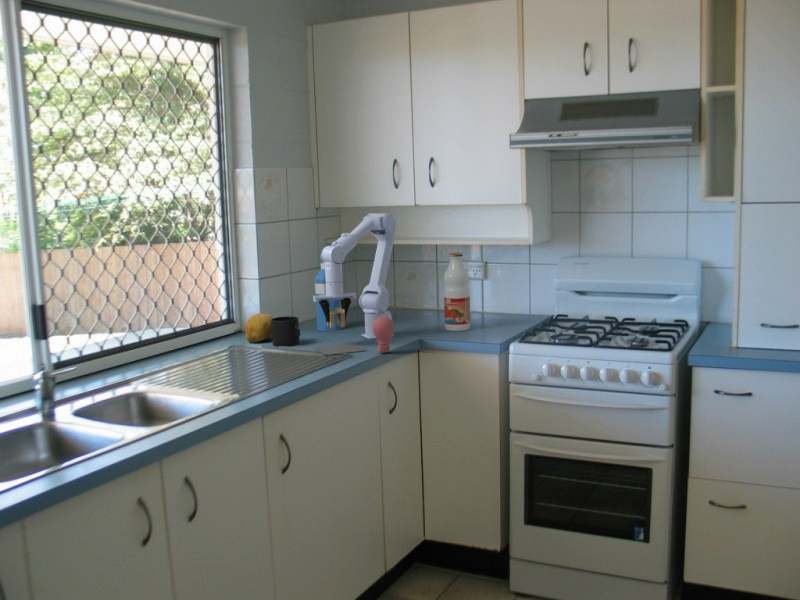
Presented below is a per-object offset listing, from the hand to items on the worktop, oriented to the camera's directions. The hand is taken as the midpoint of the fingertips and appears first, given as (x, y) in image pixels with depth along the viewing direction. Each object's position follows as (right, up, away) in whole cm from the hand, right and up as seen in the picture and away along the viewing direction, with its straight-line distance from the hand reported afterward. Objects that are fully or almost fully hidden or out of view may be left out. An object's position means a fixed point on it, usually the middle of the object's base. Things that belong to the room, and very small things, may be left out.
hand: (335, 321), depth 290 cm
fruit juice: (+43, -4, +23) cm, 49 cm away
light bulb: (+17, -10, -13) cm, 24 cm away
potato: (-28, -8, +15) cm, 33 cm away
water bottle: (-5, -4, +33) cm, 34 cm away
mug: (-17, -9, +7) cm, 20 cm away
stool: (0, -2, 0) cm, 2 cm away
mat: (+2, -9, -5) cm, 11 cm away
